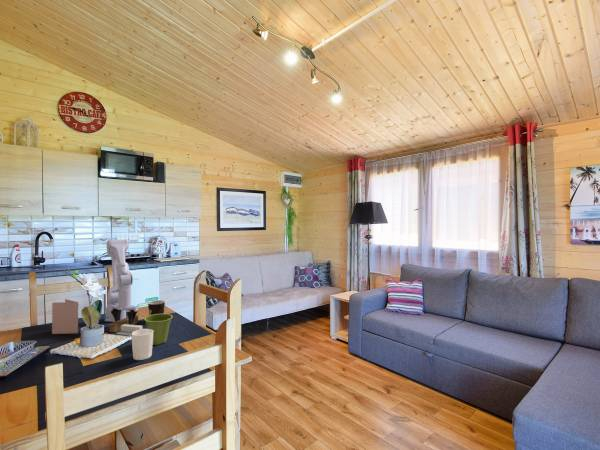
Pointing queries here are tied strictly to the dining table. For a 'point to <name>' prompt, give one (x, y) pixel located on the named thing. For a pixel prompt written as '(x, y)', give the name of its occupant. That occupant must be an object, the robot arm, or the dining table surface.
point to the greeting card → (65, 317)
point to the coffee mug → (156, 307)
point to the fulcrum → (129, 329)
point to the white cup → (142, 344)
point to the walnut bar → (117, 325)
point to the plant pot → (159, 326)
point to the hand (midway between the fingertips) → (124, 324)
